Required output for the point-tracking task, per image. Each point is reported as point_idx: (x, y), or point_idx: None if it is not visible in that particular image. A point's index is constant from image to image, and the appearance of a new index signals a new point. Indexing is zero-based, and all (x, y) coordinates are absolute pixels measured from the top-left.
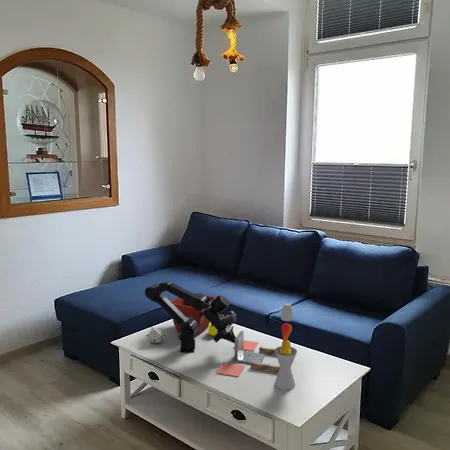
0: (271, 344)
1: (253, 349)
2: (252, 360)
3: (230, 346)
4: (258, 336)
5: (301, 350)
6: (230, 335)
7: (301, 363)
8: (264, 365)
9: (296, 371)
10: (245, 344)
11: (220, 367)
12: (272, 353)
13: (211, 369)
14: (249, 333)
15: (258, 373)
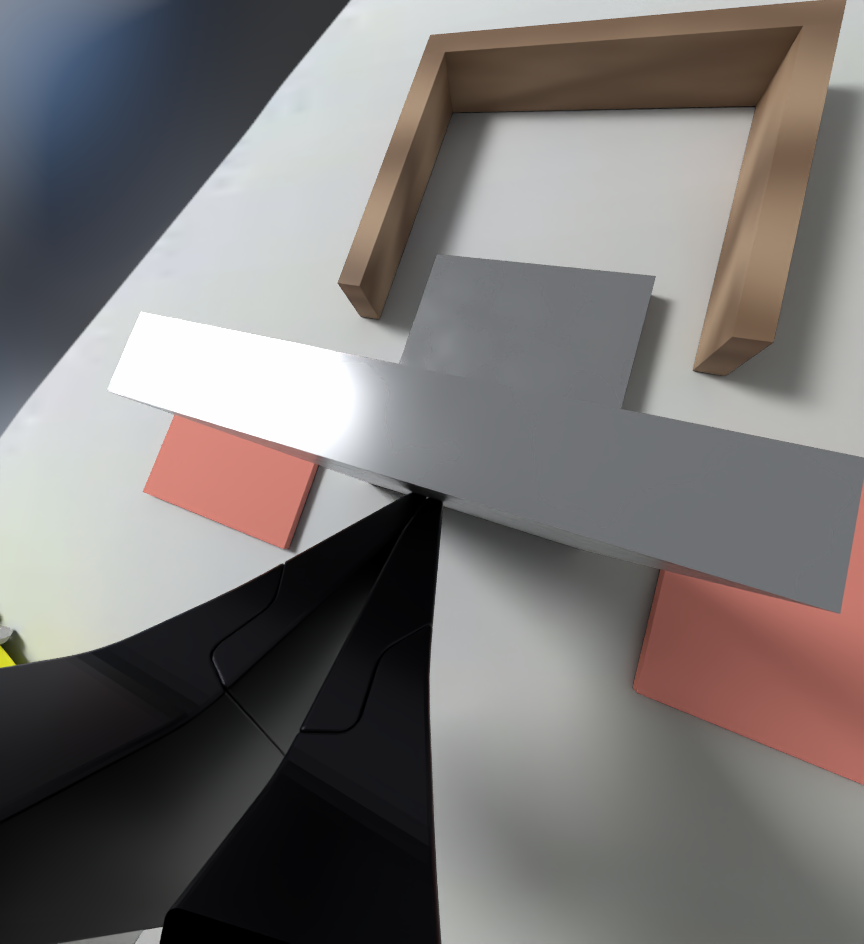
0: (246, 244)
1: None
2: (587, 353)
3: (245, 576)
4: (116, 344)
5: (351, 49)
6: (429, 795)
7: (563, 4)
8: (803, 189)
9: (725, 2)
10: (231, 436)
11: (805, 754)
12: (412, 206)
13: (857, 895)
14: (62, 411)
15: (847, 292)
